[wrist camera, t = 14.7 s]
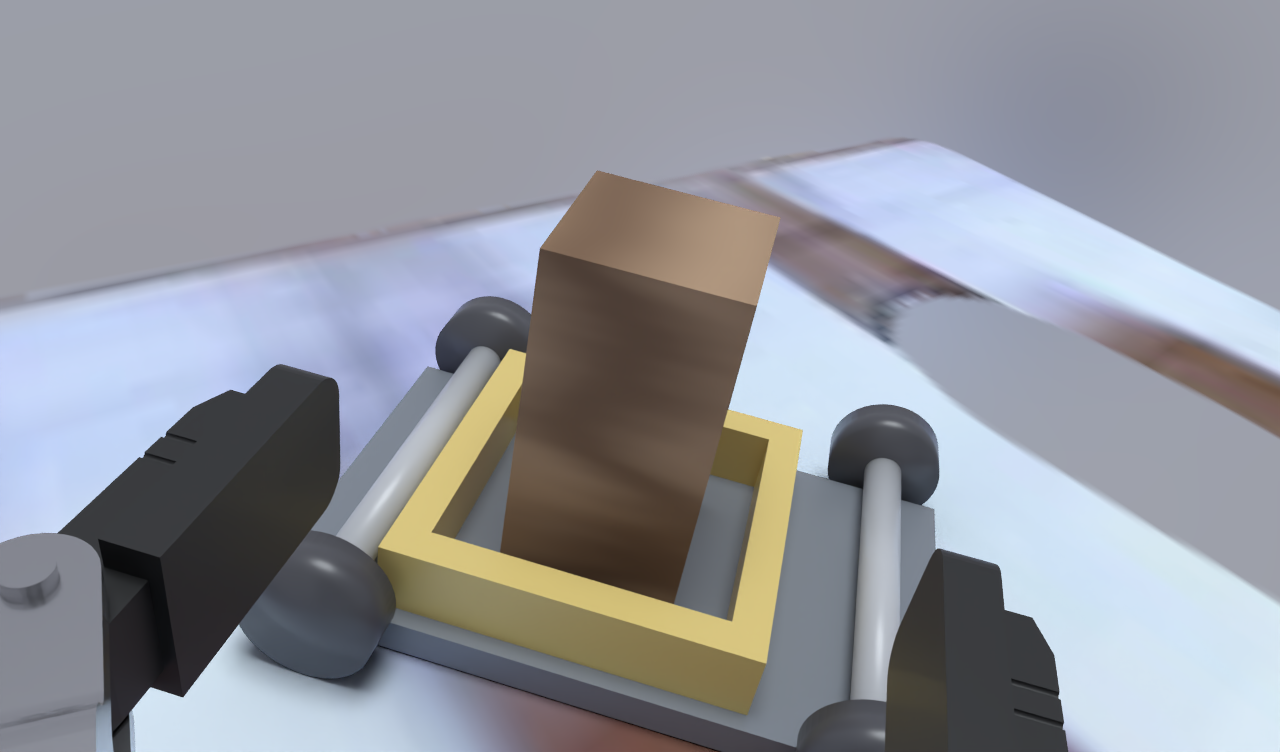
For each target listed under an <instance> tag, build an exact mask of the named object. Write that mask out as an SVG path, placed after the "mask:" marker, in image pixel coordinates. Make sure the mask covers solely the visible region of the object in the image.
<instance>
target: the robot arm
mask: <svg viewBox="0 0 1280 752" xmlns="http://www.w3.org/2000/svg"><path fill="white" fill-rule="evenodd" d="M339 473H340V422H339V389H338V385H337V382H336V381H335V380H334V379H332V378H329V377H326V376H322V375H319V374H315V373H311V372H308V371H304V370H301V369H297V368H293V367H290V366H286V365H282V364H279V365H276V366H274V367H272V368H271V369H270V370H269V371H268V372H267V373H266V374H265V375H264V376H263V377H262V378H261V379H260V380H259V381H258V382H257V383H256V384H255V385H254V386H253V387H252V388H251V389H250V390H249V391H248V392H247V393H246V394H244V393H240V392H237V391H233V390H229V391H227V392H225V393H223V394H220V395H218V396H216V397H214V398H212V399H210V400H208V401H205V402H203V403H201V404H199V405H197V406H195V407H193V408H192V409H191V410H190V411H188V412H187V413H186V414H185V415H184V416H183V417H182V418H181V419H180V420H179V421H178V422H177V423H176V424H174V425H173V426H172V427H171V428H170V429H169V430H168V431H167V432H166V436H165V437H164V438H163V437H161V438H159V439H158V440H157V441H156V442H155V443H154V444H153V445H152V446H151V447H150V448H149V449H148V450H147V451H145V455H144V457H143V458H140V457H139V458H138V459H137V460H136V461H135V462H134V463H133V464H132V465H130V466H129V467H128V468H127V469H126V470H125V471H124V472H123V473H122V474H121V475H120V476H119V477H118V478H116V479H115V480H114V481H113V482H112V483H111V484H110V485H109V486H108V487H107V488H106V489H105V490H104V491H102V492H101V493H100V494H99V495H98V496H97V497H96V498H95V499H94V500H93V501H92V502H91V503H90V504H89V505H87V506H86V507H85V508H84V509H83V510H82V511H81V512H80V513H79V514H78V515H77V516H76V517H75V518H73V519H72V520H71V521H70V522H69V523H68V524H67V525H66V526H65V527H64V528H63V529H62V530H61V531H59V532H58V533H40V534H30V535H26V536H21V537H17V538H14V539H10V540H7V541H5V542H2V543H0V752H135V732H134V718H133V712H132V709H133V708H134V706H135V705H136V704H137V703H138V701H139V700H140V699H141V698H142V696H143V695H144V694H145V693H146V692H147V690H148V689H149V688H150V687H152V688H155V689H158V690H161V691H164V692H168V693H171V694H174V695H177V696H180V697H184V695H185V694H186V693H187V692H188V690H189V689H190V688H191V686H192V685H193V684H194V682H195V681H196V680H197V678H198V677H199V676H200V674H201V673H202V672H203V671H204V669H205V668H206V667H207V665H208V664H209V663H210V661H211V660H212V659H213V657H214V656H215V655H216V653H217V652H218V651H219V650H220V648H221V647H222V646H223V644H224V643H225V642H226V640H227V639H228V638H229V636H230V635H231V634H232V632H233V631H234V630H235V629H236V627H237V626H238V625H239V623H240V622H241V621H242V619H243V618H244V617H245V615H246V614H247V613H248V612H249V610H250V609H251V608H252V606H253V605H254V604H255V602H256V601H257V600H258V598H259V597H260V596H261V594H262V593H263V592H264V591H265V589H266V588H267V587H268V585H269V584H270V583H271V581H272V580H273V579H274V577H275V576H276V575H277V573H278V572H279V571H280V570H281V568H282V567H283V566H284V564H285V563H286V562H287V560H288V559H289V558H290V556H291V555H292V554H293V553H294V551H295V550H296V549H297V547H298V546H299V545H300V543H301V542H302V541H303V539H304V538H305V537H306V535H307V534H308V533H309V532H310V530H311V529H312V528H313V526H314V525H315V524H316V522H317V521H318V520H319V518H320V517H321V516H322V514H323V513H324V512H325V510H326V509H327V507H328V505H329V504H330V502H331V499H332V497H333V495H334V492H335V489H336V486H337V483H338V479H339ZM1058 695H1059V685H1058V678H1057V671H1056V664H1055V658H1054V654H1053V652H1052V651H1051V649H1050V647H1049V645H1048V644H1047V642H1046V640H1045V639H1044V637H1043V635H1042V633H1041V632H1040V630H1039V628H1038V627H1037V625H1036V623H1035V622H1034V620H1033V618H1031V617H1028V616H1024V615H1021V614H1017V613H1014V612H1010V611H1007V610H1004V599H1003V589H1002V578H1001V571H1000V568H999V566H998V565H996V564H993V563H990V562H986V561H983V560H979V559H975V558H972V557H968V556H965V555H961V554H957V553H954V552H950V551H946V550H943V549H937V550H935V552H934V553H933V554H932V556H931V558H930V560H929V562H928V564H927V566H926V569H925V571H924V573H923V575H922V577H921V580H920V582H919V584H918V586H917V589H916V591H915V593H914V595H913V597H912V600H911V602H910V604H909V606H908V608H907V611H906V613H905V615H904V617H903V619H902V622H901V624H900V626H899V628H898V631H897V634H896V637H895V640H894V643H893V647H892V651H891V655H890V660H889V667H888V675H887V699H886V728H885V752H1068V747H1067V740H1066V734H1065V730H1063V724H1064V720H1063V713H1062V706H1061V700H1060V699H1058Z"/></svg>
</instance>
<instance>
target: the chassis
mask: <svg viewBox="0 0 1280 752" xmlns="http://www.w3.org/2000/svg"><path fill="white" fill-rule="evenodd" d="M530 321H531V314H530V313H529V312H528V311H526V310H525V309H524V308H522V307H521V306H519V305H518V304H516V303H514V302H512V301H510V300H507V299H504V298H499V297H491V296H488V297H479V298H475V299H472V300H470V301H468V302H466V303H465V304H464V305H462V306H461V307H460V308H459V309H458V311H457V312H456V313H455V314H454V316H453V317H452V318H451V319H450V321H449V322H448V323H447V324H446V326H445V327H444V328H443V329H442V331H441V332H440V334H439V336H438V339H437V342H436V360H437V363H438V366H439V368H440V370H438V369H435V368H431V367H427V368H426V369H425V371H424V372H423V373H422V375H421V376H420V377H419V378H418V380H417V381H416V382H415V383H414V385H413V386H412V387H411V389H410V390H409V391H408V392H407V394H406V395H405V396H404V398H403V399H402V400H401V401H400V403H399V404H398V405H397V407H396V408H395V409H394V410H393V412H392V413H391V414H390V416H389V417H388V418H387V419H386V421H385V422H384V423H383V425H382V426H381V427H380V428H379V430H378V431H377V432H376V434H375V435H374V436H373V437H372V439H371V440H370V441H369V443H368V444H367V445H366V446H365V448H364V449H363V450H362V452H361V453H360V454H359V455H358V457H357V458H356V459H355V460H354V462H353V463H352V464H351V466H350V467H349V468H348V469H347V471H346V472H345V473H344V475H343V476H342V477H341V478H340V480H339V481H338V483H337V486H336V489H335V492H334V495H333V497H332V499H331V502H330V504H329V505H328V507H327V509H326V510H325V512H324V513H323V514H322V516H321V517H320V518H319V520H318V521H317V522H316V524H315V525H314V526H313V528H312V529H311V530H310V532H309V533H308V534H307V535H306V537H305V538H304V539H303V541H302V542H301V543H300V545H299V546H298V547H297V549H296V550H295V551H294V553H293V554H292V555H291V556H290V558H289V559H288V560H287V562H286V563H285V564H284V566H283V567H282V568H281V570H280V571H279V572H278V573H277V575H276V576H275V577H274V579H273V580H272V581H271V583H270V584H269V585H268V587H267V588H266V589H265V591H264V592H263V593H262V594H261V596H260V597H259V598H258V600H257V601H256V602H255V604H254V605H253V606H252V608H251V609H250V610H249V612H248V613H247V614H246V615H245V617H244V618H243V619H242V621H241V622H240V623H239V625H240V627H241V628H242V630H243V632H244V633H245V634H246V636H247V637H248V638H249V639H250V641H251V642H252V643H253V644H254V645H255V646H256V647H257V648H258V649H260V650H261V651H262V652H263V653H264V654H266V655H267V656H268V657H270V658H271V659H273V660H274V661H276V662H277V663H279V664H281V665H283V666H285V667H287V668H289V669H291V670H293V671H296V672H299V673H301V674H305V675H308V676H312V677H318V678H341V677H346V676H349V675H352V674H354V673H356V672H357V671H359V670H360V669H362V668H363V666H364V665H365V664H366V663H367V661H368V659H369V658H370V656H371V654H372V653H373V651H374V649H375V648H376V646H377V645H380V646H383V647H386V648H389V649H392V650H396V651H399V652H402V653H405V654H409V655H412V656H415V657H418V658H421V659H425V660H428V661H431V662H434V663H438V664H441V665H444V666H447V667H450V668H454V669H457V670H460V671H463V672H467V673H470V674H473V675H476V676H479V677H483V678H486V679H489V680H492V681H496V682H499V683H502V684H505V685H509V686H512V687H515V688H518V689H521V690H525V691H528V692H531V693H534V694H538V695H541V696H544V697H547V698H550V699H554V700H557V701H560V702H563V703H567V704H570V705H573V706H576V707H579V708H583V709H586V710H589V711H592V712H596V713H599V714H602V715H605V716H608V717H612V718H615V719H618V720H621V721H625V722H628V723H631V724H634V725H637V726H641V727H644V728H647V729H650V730H654V731H657V732H660V733H663V734H666V735H670V736H673V737H676V738H679V739H683V740H686V741H689V742H692V743H695V744H699V745H702V746H705V747H708V748H712V749H715V750H718V751H721V752H885V728H886V699H887V675H888V667H889V660H890V655H891V651H892V647H893V643H894V640H895V637H896V634H897V631H898V628H899V626H900V624H901V622H902V619H903V617H904V615H905V613H906V611H907V608H908V606H909V604H910V602H911V600H912V597H913V595H914V593H915V591H916V589H917V586H918V584H919V582H920V580H921V577H922V575H923V573H924V571H925V569H926V566H927V564H928V562H929V560H930V558H931V556H932V554H933V553H934V552H935V520H934V509H932V508H928V507H925V506H921V505H922V504H923V503H925V502H926V501H927V500H928V499H929V498H930V497H931V495H932V494H933V493H934V491H935V489H936V487H937V484H938V480H939V454H938V442H937V438H936V435H935V433H934V431H933V429H932V428H931V427H930V425H929V424H928V423H927V422H926V421H925V420H924V419H923V418H922V417H920V416H919V415H917V414H916V413H914V412H912V411H910V410H908V409H905V408H902V407H899V406H894V405H886V404H882V405H871V406H866V407H863V408H860V409H857V410H855V411H853V412H851V413H850V414H848V415H847V416H846V417H845V418H843V419H842V420H841V421H840V423H839V424H838V425H837V427H836V428H835V430H834V432H833V434H832V438H831V445H830V454H829V463H828V476H829V479H825V478H822V477H818V476H815V475H811V474H808V473H804V472H800V471H797V464H798V457H799V451H800V445H801V438H802V432H803V430H800V429H797V428H793V427H789V426H786V425H782V424H779V423H775V422H771V421H768V420H764V419H761V418H757V417H753V416H750V415H746V414H743V413H739V412H735V411H732V410H728V411H727V415H726V419H725V422H724V426H723V429H722V433H721V436H720V440H719V444H718V447H717V451H716V454H715V458H714V462H713V465H712V469H711V472H710V476H709V480H708V483H707V487H706V490H705V494H704V498H703V501H702V505H701V508H700V512H699V516H698V519H697V523H696V526H695V530H694V534H693V537H692V541H691V544H690V548H689V552H688V555H687V559H686V562H685V566H684V569H683V573H682V577H681V580H680V584H679V587H678V591H677V595H676V598H675V602H674V604H671V603H667V602H664V601H661V600H657V599H654V598H651V597H647V596H644V595H641V594H637V593H634V592H630V591H627V590H624V589H620V588H617V587H614V586H610V585H607V584H604V583H600V582H597V581H594V580H590V579H587V578H583V577H580V576H577V575H573V574H570V573H567V572H563V571H560V570H557V569H553V568H550V567H546V566H543V565H540V564H536V563H533V562H530V561H526V560H523V559H520V558H516V557H513V556H510V555H506V554H503V553H500V548H501V541H502V533H503V526H504V518H505V510H506V503H507V495H508V488H509V480H510V472H511V465H512V457H513V450H514V442H515V435H516V427H517V419H518V412H519V404H520V397H521V389H522V382H523V374H524V366H525V359H526V351H527V344H528V336H529V328H530Z"/></svg>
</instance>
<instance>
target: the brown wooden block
mask: <svg viewBox="0 0 1280 752" xmlns="http://www.w3.org/2000/svg"><path fill="white" fill-rule="evenodd" d="M779 221H780V217H776V216H772V215H768V214H764V213H760V212H756V211H752V210H749V209H745V208H741V207H737V206H733V205H729V204H725V203H721V202H718V201H714V200H710V199H706V198H702V197H698V196H694V195H690V194H686V193H683V192H679V191H675V190H671V189H667V188H663V187H659V186H655V185H651V184H648V183H644V182H640V181H636V180H632V179H628V178H624V177H620V176H616V175H613V174H609V173H605V172H601V171H596V173H595V174H594V175H593V177H592V178H591V179H590V181H589V182H588V184H587V185H586V186H585V188H584V189H583V190H582V192H581V193H580V194H579V196H578V197H577V199H576V200H575V201H574V203H573V204H572V205H571V207H570V208H569V210H568V211H567V212H566V214H565V215H564V216H563V218H562V219H561V220H560V222H559V223H558V225H557V226H556V227H555V229H554V230H553V231H552V233H551V234H550V235H549V237H548V238H547V240H546V241H545V242H544V244H543V245H542V246H541V248H540V253H539V260H538V268H537V275H536V283H535V291H534V298H533V306H532V313H531V321H530V328H529V336H528V344H527V351H526V359H525V366H524V374H523V382H522V389H521V397H520V404H519V412H518V419H517V427H516V435H515V442H514V450H513V457H512V465H511V472H510V480H509V488H508V495H507V503H506V510H505V518H504V526H503V533H502V541H501V548H500V553H503V554H506V555H510V556H513V557H516V558H520V559H523V560H526V561H530V562H533V563H536V564H540V565H543V566H546V567H550V568H553V569H557V570H560V571H563V572H567V573H570V574H573V575H577V576H580V577H583V578H587V579H590V580H594V581H597V582H600V583H604V584H607V585H610V586H614V587H617V588H620V589H624V590H627V591H630V592H634V593H637V594H641V595H644V596H647V597H651V598H654V599H657V600H661V601H664V602H667V603H671V604H674V602H675V598H676V595H677V591H678V587H679V584H680V580H681V577H682V573H683V569H684V566H685V562H686V559H687V555H688V552H689V548H690V544H691V541H692V537H693V534H694V530H695V526H696V523H697V519H698V516H699V512H700V508H701V505H702V501H703V498H704V494H705V490H706V487H707V483H708V480H709V476H710V472H711V469H712V465H713V462H714V458H715V454H716V451H717V447H718V444H719V440H720V436H721V433H722V429H723V426H724V422H725V419H726V415H727V411H728V408H729V404H730V401H731V397H732V393H733V390H734V386H735V383H736V379H737V375H738V372H739V368H740V365H741V361H742V357H743V354H744V350H745V347H746V343H747V339H748V336H749V332H750V329H751V325H752V321H753V318H754V314H755V311H756V307H757V303H758V300H759V296H760V292H761V288H762V285H763V281H764V277H765V274H766V270H767V266H768V262H769V259H770V255H771V251H772V247H773V244H774V240H775V236H776V232H777V229H778V225H779Z"/></svg>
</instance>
